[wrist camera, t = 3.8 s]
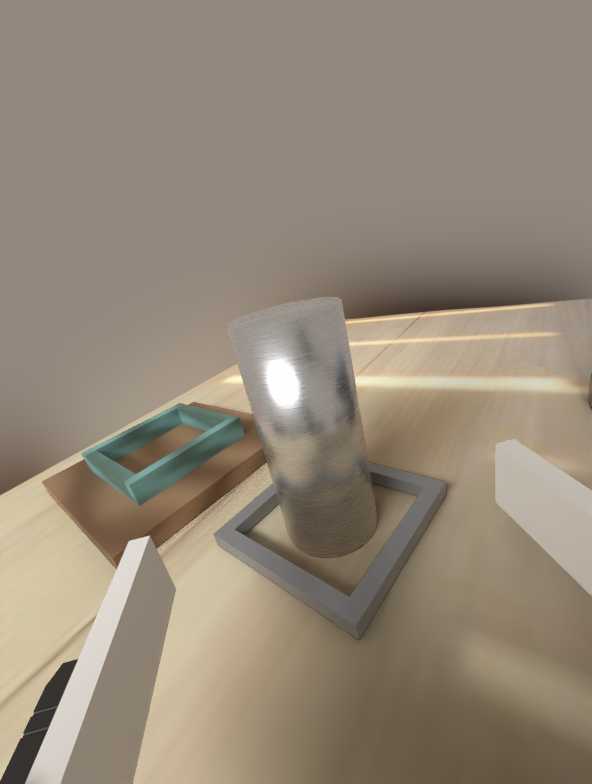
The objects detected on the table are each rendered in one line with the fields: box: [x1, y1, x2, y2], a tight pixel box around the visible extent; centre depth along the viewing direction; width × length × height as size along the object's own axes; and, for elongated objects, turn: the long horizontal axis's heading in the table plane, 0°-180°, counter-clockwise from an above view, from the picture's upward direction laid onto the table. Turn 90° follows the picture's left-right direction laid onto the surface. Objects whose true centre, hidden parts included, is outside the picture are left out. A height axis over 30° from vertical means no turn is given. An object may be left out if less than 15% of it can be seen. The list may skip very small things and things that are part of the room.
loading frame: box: [214, 462, 447, 640], centre depth 23 cm, size 11×11×1 cm
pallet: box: [42, 402, 267, 569], centre depth 34 cm, size 18×18×4 cm
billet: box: [227, 297, 378, 558], centre depth 21 cm, size 6×6×14 cm
